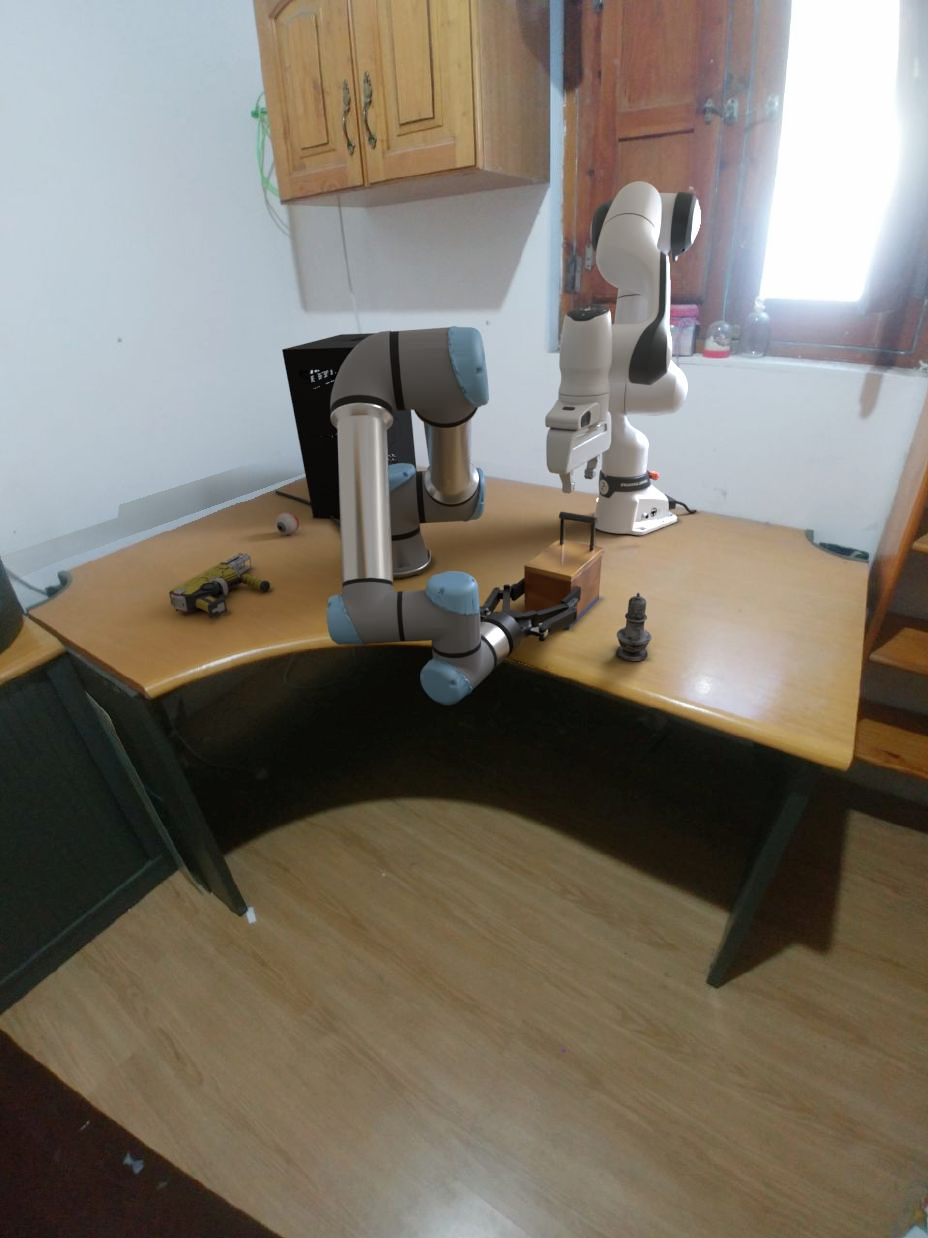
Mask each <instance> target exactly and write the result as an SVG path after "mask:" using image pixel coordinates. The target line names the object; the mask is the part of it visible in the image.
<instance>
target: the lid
mask: <svg viewBox="0 0 928 1238" xmlns="http://www.w3.org/2000/svg"><path fill="white" fill-rule="evenodd" d="M558 518H559V522H560V525H559V539H558V540H556V541H555V542H553V543H552V544H551V545H549V546H548V547H547V548H546V549H544V550H543V551H541V552H540V553H539V554H538V555H536V556H534V558H532V559H531V560H530V561H528V562H527V563H526V564H524V565H523V566H524V567H523V568H524V569H523V572H524V571H528V572H532V573H536V574H541V575H545V576H549V577H553V578H558V579H562V580H566V581H570V582H571V581H573V580H574V579H575V578H576V577H577V576H578V575H579V574H580V573H582V572H583V571H584V570H585V569H586V568H587V567H588V566H589V565H591V564H592V563H593V562H594V561H595V560H596V559H597V558H598V557H600V556H601V555H602V556H603V554H604V553H605V547H602V546H597V545H595V540H596V539H595V537H596V528H595V525H596V524H597V518H596V517H594V516H590V515H584V514H578V513H573V512H567V511H560V512H559V514H558ZM566 521H571V522H575V523H581V524H586V525H590V534H589V535H590V536H589V544H587V543H582V542H577V541H572V540H567V539H565V532H566V531H565V529H566Z"/></svg>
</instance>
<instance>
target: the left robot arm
mask: <svg viewBox="0 0 928 1238" xmlns="http://www.w3.org/2000/svg"><path fill="white" fill-rule="evenodd" d="M374 333H375V334H373V335H370V336H369V337H367V338H365V339H364V340H362V341H361V342H360V343H359V344H358V345H357V346H355V348H354V349H353V350H352V351H351V352H350V353H349V355H348V356H347V358H346V359H345V361H344V362H343V364H342V366H341V367H340V370H339V372H338V374H337V377H336V379H335V382H334V386H333V390H332V394H331V403H330V413H331V423H332V424H333V425H334V426H335V427H336V428H337V429H338V461H339V496H340V518H339V520H338V518H335V517H334V516H333V515H330V517H331V518H330V519H331V520H332V521H333V522H334V523H335V524H336V525H337V526H338V528H339V530H340V532H339V533H340V564H341V565H340V566H341V587H342V589H341V593H338V594H333V595H331V596H330V597H329V598H328V600H327V603H326V604H327V605H326V608H327V609H326V625H327V631H328V635H329V637H330V639H331V641H332V642H333V643H334V644H336V645H338V646H346V645H347V646H350V645H351V646H353V645H354V646H356V645H357V646H358V645H360V646H367V645H375V644H390V643H392V644H393V643H410V642H411V643H412V642H430V641H431V651H432V652H431V653H432V659H430V660H428V661H427V663H426V664H425V665H424V666H423V667H422V669H421V671H420V675H419V677H420V678H419V679H420V684H421V686H422V689H423V691H424V692H425V693H426V695H427V696H428V697H429V698H430V699H431V700H433V701H434V702H435V703H439V704H441V705H443V706H453V705H455V704H456V705H457V703H459V702H460V701H461V700H462V699H464V698H465V697H466V696H468V695H470V694H471V693H472V691H473V690H474V689H475V688H476V687H478V686H479V684H481V683H482V682H483V681H484V680H485V679H486V678H487V677H488V676H489V675H490V674H491V673H492V672H493V671H494V670H495V669H496V668H497V667H498V666H499V665H500V664H501V663H503V662H504V661H505V660H506V659H507V658H508V657H510V655H511V654H512V653H514V652H515V651H516V649H518V648H519V647H520V645H521V644H522V642H523V640H524V639H526V638H529V637H531V636H534V637H538V641H539V642H541V643H543V642H546V640H548V639H549V637H550V636H552V635H554V634H556V633H558V632H560V631H561V630H563V629H566V628H565V627H567V626H569V625H571V624H573V623H575V622H576V621H577V610H578V609H577V604H578V602H579V601H580V598H581V587H578V586H577V587H576V588H575V589H574V590H573V591H572V592H571V593H570V594H568V595H567V596H566V597H565V598H564V599H563V600H562V604H561V605H557V606H554V607H551V608H547V609H544V610H541V611H537V612H535V611H529V612H526V613H524V611H522V612H521V611H518V610H515V609H511V602H516V601H517V600H518V599H519V598H521V597H522V596H524V577H523V578H522V579H520V580H519V581H518V582H517V583H516V582H515V583H512V584H511V585H510V584H504V585H503V589H501V587H498V586H496V587H494V588H492V590H491V592H490V593H489V595H488V596H487V599H486V600H485V602H484V603H483V605H481V602H480V594H479V593H480V592H479V585H478V582H477V580H476V579H475V577H473V576H472V575H471V574H469V573H467V572H464V571H458V570H446V571H444V572H442V573H436V574H433V575H432V576H430V578H428V580H427V582H426V586H425V589H415V590H398V591H394V580H397V579H405V578H411V577H415V576H417V575H420V574H422V573H424V572H425V571H427V570H428V569H429V568H430V567H431V564H432V558H431V557H432V549H431V548H430V549H428V548H427V546H426V542H425V540H424V537H423V534H422V531H421V524H435V523H452V522H455V523H456V522H465V523H468V522H470V521H477V520H480V518H482V516H483V514H484V511H485V504H486V503H485V500H486V478H485V473H484V471H483V469H482V468H481V467H477V466H475V464H474V463H473V462H472V419H473V418H474V417H475V415H476V413H477V412H478V409H479V408H481V407H482V406H486V405H488V404H489V400H490V393H489V392H490V391H489V379H488V369H487V363H486V354H485V348H484V347H485V346H484V341H483V336H482V334H481V332H480V331H479V330H478V329H477V328H475V327H473V326H472V327H471V326H457V325H453V326H447V327H433V328H421V329H406V330H393V331H392V330H385V331H384V330H383V331H379V332H374ZM395 410H398V411H403V410H411V411H413V412H414V413H415V415H416V417H417V418H418V419H419V420H420V421H421V422H423V429H424V437H425V444H426V451H427V459H428V467H427V468H426V470H417V468H416V469H415V468H414V466H413V465H412V464H408V463H407V464H405V463H399V464H392V465H388V456H389V455H388V445H387V429H389V428H390V427H391V425H392V423H393V411H395ZM416 470H417V471H416ZM275 494H277V495H280V496H283V497H287V498H289V499H293V500H296V501H299V502H302V503H304V504H307V505H309V506H311V502H310V500H307V499H304V498H301V497H299V496H296V495H292V494H290V493H289V494H288V493H286V492H283V491H280V490H275ZM501 601H502V604H501V611H496V608H497V607H498V605H499V604H500V602H501ZM530 618H531V619H530ZM577 622H578V621H577ZM577 622H576V623H577ZM576 623H575V624H576Z"/></svg>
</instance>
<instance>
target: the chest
mask: <svg viewBox="0 0 928 1238" xmlns="http://www.w3.org/2000/svg"><path fill="white" fill-rule="evenodd" d="M602 557H603V554H602V555H601V556H600V557H598V558H597V559H596V560H595V561H594V562H593V563H592V564H591V565H589V566H588V567H587V568H586V569H585V570H584V571H583V572H582V573H580V574H579V575H578V576H577V577H576V578H575V579H574V580H573V581H571V582H570V581H566V580H562V579H558V578H553V577H549V576H545V575H541V574H536V573H532V572H528V571H524V570H523V578H524V594H523V599H524V600H523V613H526V612H529V611H535V612H537V611H541V610H544V609H547V608H551V607H554V606H557V605H561V604H562V600H563V599H564V598H565V597H566V596H567V595H568V594H570V593H571V592H572V591H573V590H574V589H575V588H576V587H577V586H578V587H581V598H580V601H579V602H578V604H577V609H578V610H577V621H576V622H575V623H573V624H571V625H569V626H567V627H565V628H564V629H567V630H570V629H571V628H572V627H573V626H574V625H576V623H577V622H579V620H581V618H582V617H583V616H584V615H585V614H586V613H587V612H588V611H589V610H590V609H591V608H592V607H593V606H595V604H596V603H597V602H598V601H599V600H600V587H601V586H600V585H601V575H602V573H601V572H602V560H603V559H602ZM530 620H531V618H530Z"/></svg>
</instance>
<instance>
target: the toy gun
mask: <svg viewBox="0 0 928 1238" xmlns="http://www.w3.org/2000/svg"><path fill="white" fill-rule="evenodd" d="M248 561H249V565H247V564H246V563H247V562H248ZM250 569H252V557H251V555H250V554H248V553H243V552H239V553H238V554H236V555H233V556H232V557H231V558H229V559H227V560H226V561H223V562H222V561H221V562H219V563H218V564H216V565H214V566H212V567H211V568H209V569H207V570H205V571H204V572H201V573H199V574H198V575H196V576H194V577H192V578H191V579H189V580H187V581H185V582H183V583H181V584H179V585H178V586H176V587H174V588H172V589H170V590H169V592H168V595H169V600H170V604H171V606H172V608H173V609H175V611H176V612H179V613H184V612H188V613H189V612H196V611H200V610H203V611H205V612H206V613H208V616H209V619H215V618H216V617H218V616H219V615H222V614H224V613H226V612H228V609H227V601H226V598H225V597H227V596H228V595H229V591H230V590H232V589H234V588H236V587H238V586H240V585H241V584H243V585H247V586H249V587H251V588H254V589H256V590H259V591H261V592H262V593H267V592H268V591H269V590H271V583H270V582H269V581H268V580H264V579H261V578H258V577H257V576H254V575H251V574H248V573H245V572H247V571H248V570H250ZM243 573H245V574H243ZM240 575H242V576H240Z"/></svg>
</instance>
